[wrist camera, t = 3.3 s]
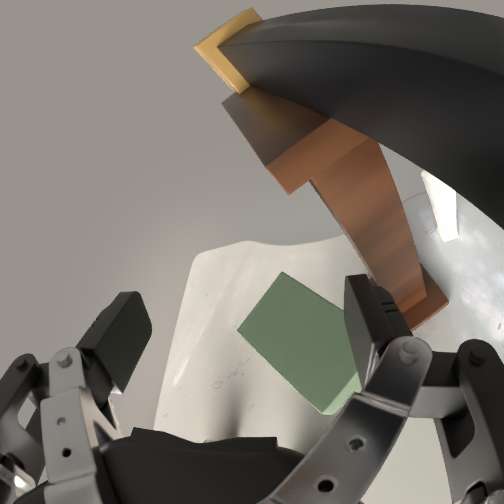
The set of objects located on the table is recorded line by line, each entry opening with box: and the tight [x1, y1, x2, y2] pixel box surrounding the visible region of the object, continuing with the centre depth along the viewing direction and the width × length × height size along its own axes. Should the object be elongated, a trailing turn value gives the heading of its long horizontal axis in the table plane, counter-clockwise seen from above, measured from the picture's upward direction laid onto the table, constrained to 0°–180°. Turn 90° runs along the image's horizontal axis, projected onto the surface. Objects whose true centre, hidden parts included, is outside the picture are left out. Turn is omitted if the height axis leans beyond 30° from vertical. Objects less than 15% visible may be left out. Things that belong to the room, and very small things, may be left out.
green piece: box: [237, 272, 362, 415], centre depth 26 cm, size 10×6×21 cm, turn 42°
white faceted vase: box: [421, 169, 459, 241], centre depth 31 cm, size 5×4×15 cm
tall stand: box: [221, 86, 449, 332], centre depth 26 cm, size 12×9×32 cm
